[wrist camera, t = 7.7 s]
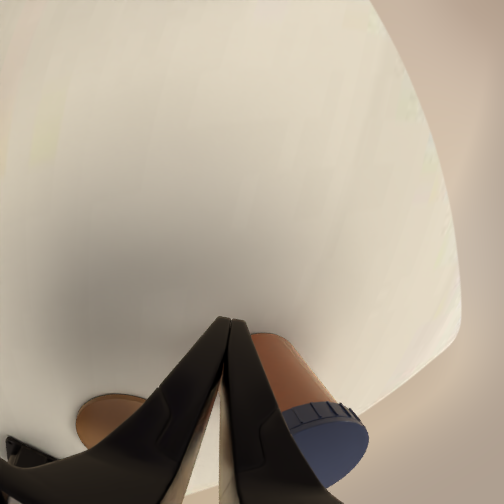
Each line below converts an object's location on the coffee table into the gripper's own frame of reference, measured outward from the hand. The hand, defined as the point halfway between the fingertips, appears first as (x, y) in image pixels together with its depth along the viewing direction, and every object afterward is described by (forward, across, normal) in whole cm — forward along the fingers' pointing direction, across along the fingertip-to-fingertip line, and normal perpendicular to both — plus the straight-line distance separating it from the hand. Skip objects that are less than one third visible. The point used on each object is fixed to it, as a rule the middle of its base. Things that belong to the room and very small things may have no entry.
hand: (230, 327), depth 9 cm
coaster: (+2, +7, +18) cm, 19 cm away
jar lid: (-2, -5, +8) cm, 10 cm away
